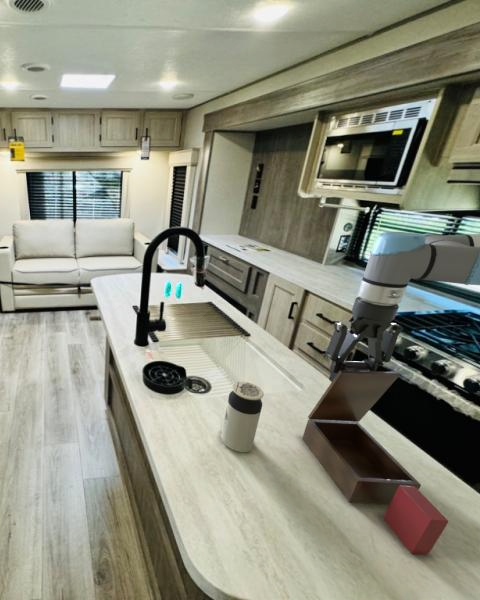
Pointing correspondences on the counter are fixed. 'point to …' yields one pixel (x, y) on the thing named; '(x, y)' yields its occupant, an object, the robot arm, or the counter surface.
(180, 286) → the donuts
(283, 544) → the counter surface
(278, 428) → the counter surface
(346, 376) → the lid
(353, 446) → the chest
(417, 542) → the red rectangular brick
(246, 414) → the travel mug
